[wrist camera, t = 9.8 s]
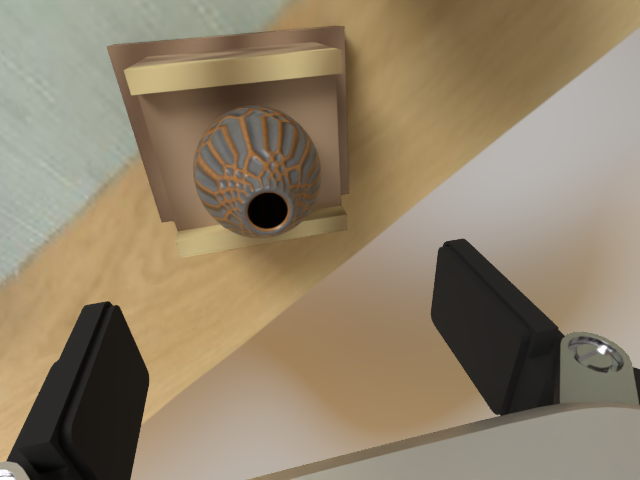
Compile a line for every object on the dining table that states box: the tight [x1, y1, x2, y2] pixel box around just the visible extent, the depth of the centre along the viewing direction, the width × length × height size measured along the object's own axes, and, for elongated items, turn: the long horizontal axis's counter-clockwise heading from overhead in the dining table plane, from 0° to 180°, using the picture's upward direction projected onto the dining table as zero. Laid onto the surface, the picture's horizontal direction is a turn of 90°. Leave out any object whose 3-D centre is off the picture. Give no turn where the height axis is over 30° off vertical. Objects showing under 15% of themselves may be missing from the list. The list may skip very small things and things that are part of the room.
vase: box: [193, 106, 321, 238], centre depth 21 cm, size 7×7×9 cm
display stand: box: [107, 26, 349, 258], centre depth 27 cm, size 16×13×10 cm
